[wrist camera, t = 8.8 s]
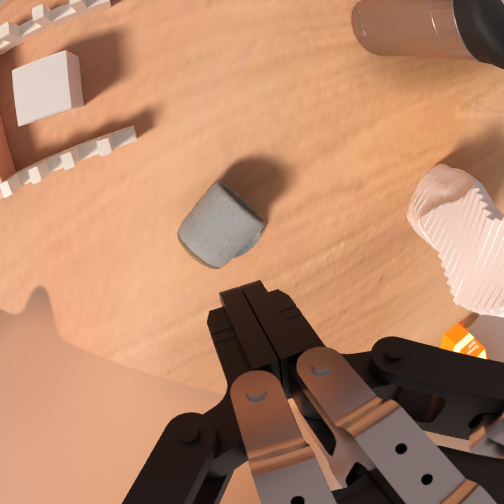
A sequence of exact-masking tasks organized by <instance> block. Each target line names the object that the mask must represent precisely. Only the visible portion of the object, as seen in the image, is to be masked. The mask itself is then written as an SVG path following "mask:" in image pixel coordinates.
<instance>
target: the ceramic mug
mask: <svg viewBox="0 0 504 504" xmlns="http://www.w3.org/2000/svg"><path fill="white" fill-rule="evenodd" d="M265 226H266V223H265V221H264V219H263V218H262V217H261V216H260V215H259V214H258V213H257V212H256V211H255V210H254V209H253V208H252V207H251V206H250V205H249V204H248V203H247V202H246V201H245V200H244V199H243V198H242V197H240V196H239V195H238V194H237V193H236V192H235V191H234V190H232V189H231V188H230V187H229V186H227V185H226V184H224V183H223V182H221V181H215V182H214V184H213V185H212V186H211V187H210V189H209V190H208V191H207V192H206V193H205V195H204V196H203V197H202V198H201V199H200V201H199V202H198V203H197V204H196V206H195V207H194V208H193V210H192V211H191V212H190V213H189V214H188V216H187V217H186V218H185V219H184V221H183V222H182V224H181V226H180V227H179V229H178V239H179V242H180V244H181V245H182V247H183V248H184V250H185V251H186V252H187V253H188V254H189V255H190V256H191V257H192V258H193V259H195V260H196V261H197V262H199V263H200V264H202V265H204V266H206V267H208V268H212V269H219V268H221V267H223V266H224V265H226V264H227V263H228V262H229V261H231V260H232V259H233V258H236V257H239V256H241V255H243V254H245V253H246V252H248V251H249V250H250V249H251V248H253V247H254V246H255V244H256V243H257V242H258V240H259V238H260V236H261V230H262V229H263V228H264V227H265Z"/></svg>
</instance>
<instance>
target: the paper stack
mask: <svg viewBox="0 0 504 504" xmlns="http://www.w3.org/2000/svg"><path fill="white" fill-rule="evenodd" d="M407 218H408V221H409V222H410V224H411V225H412V227H413V229H414V230H415V232H416V233H418V234H419V235H420V236H421V237H422V238H423V239H424V240H425V241H426V242H427V243H429V244H430V245H431V246H432V247H433V248H435V249H436V250H438V251H439V255H438V257H439V258H440V259H441V260H442V261H443V262H442V264H441V266H442V267H443V268H444V269H446V270H445V273H444V275H445V276H446V277H448V278H449V279H448V282H447V284H449V285H450V286H451V287H452V288H451V291H450V293H451V294H453V295H454V296H455V297H454V300H453V302H454V303H456V304H457V305H461V306H462V307H463V308H464V307H465V308H466V309H467V310H472V311H473V312H474V313H479V314H480V315H486V314H488V315H492V316H499V317H503V318H504V215H503V213H502V212H501V211H500V210H499V209H498V208H497V206H496V205H495V203H494V202H493V200H492V199H491V198H490V196H489V194H488V192H487V191H486V189H485V188H484V186H483V185H482V184H481V183H480V182H479V181H477V179H476V178H474V177H473V176H472V175H470V174H469V173H467V172H466V171H464V170H461V169H457V168H451V167H449V166H448V165H445V164H437V165H435V166H434V167H432V168H431V169H430V170H429V171H428V172H427V173H426V174H425V176H424V177H423V178H422V180H421V181H420V183H419V185H418V187H417V189H416V191H415V193H414V195H413V197H412V198H411V201H410V203H409V211H408V213H407Z"/></svg>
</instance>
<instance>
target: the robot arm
mask: <svg viewBox="0 0 504 504" xmlns="http://www.w3.org/2000/svg"><path fill="white" fill-rule="evenodd" d="M352 26H353V30H354V32H355V35H356V37H357V38H358V40H359V42H360V43H361V44H362V45H363V46H364V47H365V48H366V49H367V50H368V51H370V52H371V53H373V54H376V55H380V56H422V57H438V58H450V59H460V60H469V61H477V62H483V63H489V64H492V65H495V66H497V67H499V68H502V69H504V4H503V3H502V2H501V0H362V1H360V2H359V3H357V5H356V6H355V7H354V10H353V12H352ZM219 295H220V300H221V304H222V307H221V308H217V309H214V310H211V311H209V315H208V320H207V324H208V327H209V331H210V334H211V337H212V340H213V343H214V346H215V349H216V352H217V355H218V358H219V360H220V363H221V366H222V369H223V372H224V374H225V377H226V380H227V385H228V386H227V391H226V394H225V396H224V398H223V399H222V401H221V402H220V403H219V404H218V405H216V406H215V407H214V408H212V409H211V410H209V411H207V412H206V413H204V414H203V415H202V414H199V413H193V412H190V413H184V414H180V415H178V416H176V417H175V418H173V419H172V420H171V421H170V422H169V423H168V425H167V426H166V428H165V430H164V432H163V433H162V435H161V437H160V439H159V440H158V442H157V444H156V445H155V447H154V449H153V451H152V452H151V454H150V456H149V458H148V459H147V461H146V463H145V465H144V467H143V468H142V470H141V471H140V473H139V475H138V477H137V478H136V480H135V482H134V484H133V485H132V487H131V489H130V490H129V492H128V494H127V496H126V497H125V499H124V501H123V502H122V504H219V503H220V501H221V499H222V496H223V494H224V492H225V490H226V488H227V485H228V483H229V481H230V479H231V476H232V474H233V472H234V470H235V469H236V468H237V467H239V466H240V465H242V464H243V463H244V462H246V461H247V460H249V465H250V469H251V473H252V476H253V479H254V482H255V486H256V489H257V492H258V495H259V498H260V501H261V503H262V504H504V363H502V362H497V361H493V360H489V359H484V358H480V357H476V356H471V355H467V354H463V353H459V352H454V351H450V350H446V349H442V348H438V347H434V346H430V345H426V344H422V343H419V342H415V341H411V340H407V339H403V338H399V337H393V336H391V337H385V338H382V339H380V340H378V341H377V342H376V343H375V344H374V346H373V347H372V351H367V352H361V353H355V354H341V353H339V352H337V351H336V350H334V349H332V348H328V347H326V346H325V345H324V344H323V342H322V341H321V340H320V338H319V337H318V335H317V334H316V333H315V331H314V330H313V328H312V327H311V326H310V324H309V323H308V321H307V320H306V319H305V317H304V316H303V315H302V313H301V312H300V310H299V309H298V307H296V305H295V303H294V302H293V300H292V299H291V298H290V296H289V295H287V294H285V293H284V292H282V291H280V290H278V289H277V290H274V291H271V292H267V290H266V288H265V287H264V285H263V284H262V282H261V281H260V280H258V281H255V282H252V283H249V284H245V285H242V286H240V287H236V288H233V289H229V290H226V291H223V292H220V293H219ZM290 398H293V400H294V401H295V403H296V405H297V409H298V416H299V418H300V419H301V421H302V422H303V424H304V425H305V427H306V428H307V430H308V431H309V433H310V434H311V436H312V437H313V439H314V440H315V442H316V443H317V445H318V446H319V448H320V449H321V451H322V452H323V453H324V455H325V457H326V458H327V460H328V462H329V466H330V469H331V471H332V473H333V475H334V476H335V477H336V479H337V480H338V482H339V484H340V485H341V486H342V489H338V490H334V491H331V490H330V488H329V486H328V484H327V481H326V479H325V477H324V475H323V472H322V470H321V468H320V465H319V463H318V461H317V459H316V457H315V454H314V452H313V450H312V449H311V447H310V445H309V444H308V443H306V442H305V440H304V438H303V436H302V434H301V431H300V429H299V426H298V425H297V422H296V419H295V417H294V415H293V412H292V410H291V407H290V405H289V403H288V399H290ZM423 430H424V431H429V432H433V433H437V434H441V435H446V436H451V437H455V438H461V439H466V440H469V441H470V444H469V450H470V451H471V452H472V453H469V452H465V451H460V450H456V449H452V448H448V447H443V446H436V445H435V444H434V443H433V442H432V440H431V439H430V438H429V437H428V436H427V435H426V434H425V433H424V432H423ZM474 453H478V454H474ZM479 454H480V455H479Z"/></svg>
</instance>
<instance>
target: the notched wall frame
mask: <svg viewBox="0 0 504 504" xmlns="http://www.w3.org/2000/svg"><path fill="white" fill-rule="evenodd" d="M109 7H112V6H111V0H70V2H69V3H67V4H64V5H62V6H59V7H57V8H55V9H52V10H50V9H49V8H48V7H46V6H45V5H44V4H40V5H38V6H36V7H34V8H32V16H33V19H31V20H29V21H27V22H25V23H23V24H21V25H19V26H18V25H16V24H14V23H11V22H9V21H8V22H6V23H4V24H2V25H1V26H0V55H1V54H3V53H5V52H7V51H8V50H10V49H12V48H14V47H16V46H17V45H19V44H21V43H23V42H25V41H27V40H29V39H31V38H33V37H35V36H37V35H39V34H41V33H43V32H46V31H48V30H50V29H52V28H55V27H57V26H59V25H62V24H64V23H67V22H69V21H72V20H74V19H77V18H79V17H82V16H85V15H88V14H91V13H93V12H96V11H99V10H103V9H106V8H109ZM135 141H137V134H136V130H135V126H134V125H132V126H129V127H126V128H123V129H120V130H117V131H114V132H111V133H108V134H105V135H102V136H99V137H97V138H94V139H91V140H88V141H86V142H83V143H81V144H78V145H75V146H73V147H70V148H68V149H66V150H63V151H61V152H58V153H56V154H54V155H51V156H49V157H47V158H45V159H42V160H40V161H38V162H36V163H34V164H32V165H29V166H27V167H25V168H23V169H21V170H19V171H17V172H16V169H15V166H14V162H13V159H12V156H11V153H10V149H9V146H8V142H7V139H6V135H5V131H4V127H3V123H2V119H1V115H0V199H1V198H3V197H4V198H6V197H8V196H10V195H12V194H13V193H14V192H15V191H16V190H18V189H19V188H20V187H21V186H22V185H24V184H27V183H29V182H32V185H33V184H35V183H37V182H39V181H42V180H43V179H44V178H45V177H46V176H47V175H48V174H49V173H51V172H53V171H56V170H58V169H61V168H63V167H64V170H68V169H70V168H73V167H75V166H76V165H77V164H78V163H79V162H80V161H81V160H83V159H86V158H88V157H91V156H94V155H97V154H99V153H100V156H101V157H102V156H105V155H108V154H111V153H112V152H113V151H114V149H115V148H117V147H120V146H123V145H126V144H129V143H132V142H135Z"/></svg>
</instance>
